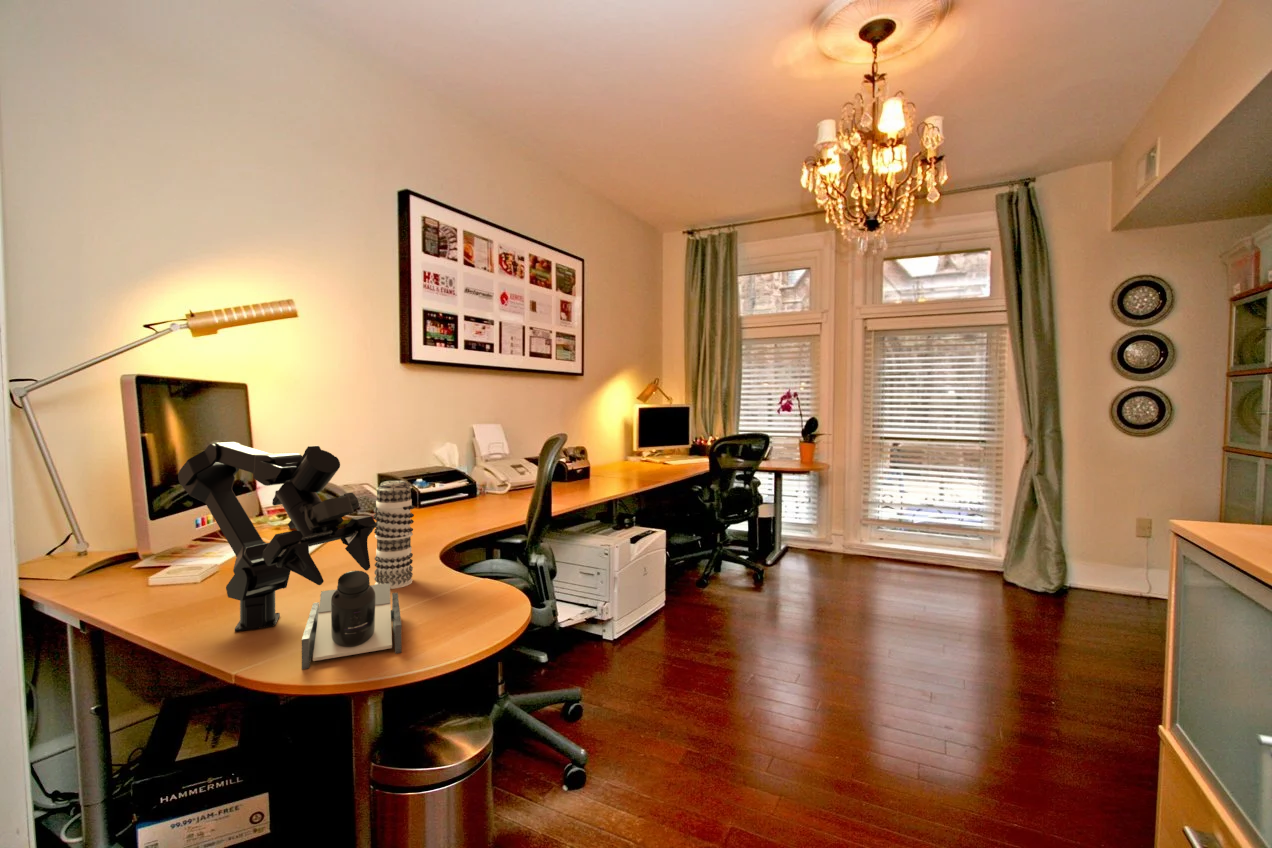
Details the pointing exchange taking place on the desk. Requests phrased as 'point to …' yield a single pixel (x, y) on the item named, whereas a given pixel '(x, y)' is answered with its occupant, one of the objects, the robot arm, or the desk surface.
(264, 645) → the desk surface
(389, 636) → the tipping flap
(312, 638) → the flap frame
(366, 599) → the supplement bottle
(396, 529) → the decorative candle
